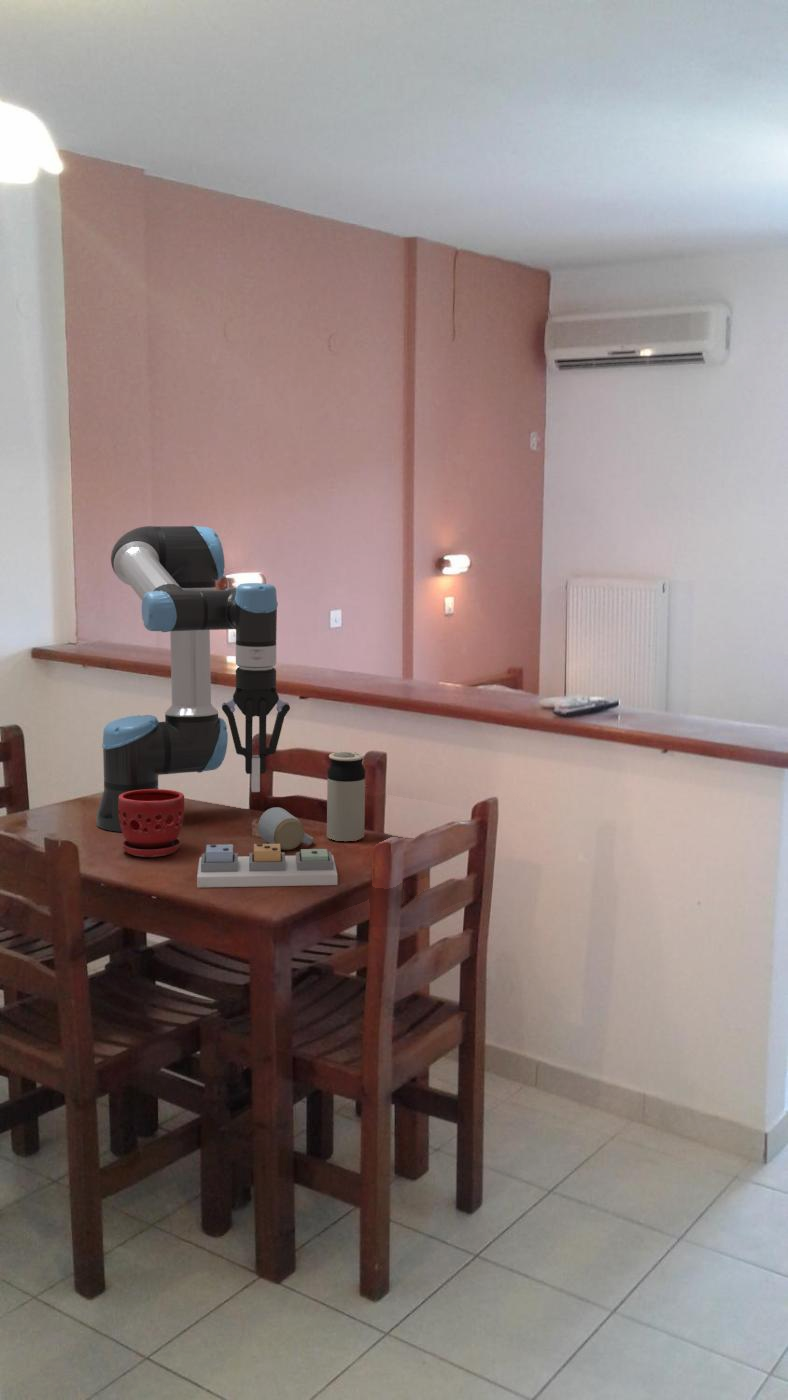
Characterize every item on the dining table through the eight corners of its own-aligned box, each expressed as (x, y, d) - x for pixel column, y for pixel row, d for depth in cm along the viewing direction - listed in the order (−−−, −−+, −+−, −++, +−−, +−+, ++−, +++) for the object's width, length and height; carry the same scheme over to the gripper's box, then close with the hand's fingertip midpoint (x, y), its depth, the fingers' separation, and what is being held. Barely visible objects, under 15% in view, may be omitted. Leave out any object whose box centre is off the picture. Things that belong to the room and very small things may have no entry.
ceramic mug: (274, 854, 256) (275, 817, 255) (256, 844, 263) (257, 808, 262) (320, 848, 262) (321, 812, 261) (302, 838, 269) (303, 803, 268)
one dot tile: (300, 859, 245) (300, 848, 244) (326, 858, 245) (326, 847, 245) (301, 866, 240) (301, 855, 240) (328, 866, 240) (328, 855, 240)
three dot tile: (253, 854, 244) (253, 843, 243) (280, 853, 244) (280, 842, 244) (254, 861, 239) (254, 850, 238) (280, 861, 239) (280, 849, 239)
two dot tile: (206, 854, 243) (206, 843, 242) (233, 854, 243) (232, 843, 243) (205, 862, 238) (205, 851, 237) (232, 861, 238) (232, 850, 238)
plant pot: (193, 856, 254) (192, 798, 252) (128, 863, 248) (127, 804, 246) (174, 839, 266) (173, 784, 264) (112, 846, 260) (110, 789, 258)
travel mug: (329, 843, 265) (329, 759, 262) (324, 833, 273) (325, 751, 270) (366, 842, 266) (368, 758, 263) (361, 832, 274) (362, 750, 271)
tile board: (199, 866, 247) (199, 849, 246) (332, 864, 250) (333, 847, 249) (197, 887, 234) (196, 868, 234) (337, 884, 237) (337, 866, 237)
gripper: (221, 670, 231) (221, 795, 235) (292, 670, 233) (291, 794, 237) (220, 664, 238) (220, 785, 242) (289, 664, 240) (288, 784, 244)
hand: (255, 790), depth 240 cm, fingers closed
